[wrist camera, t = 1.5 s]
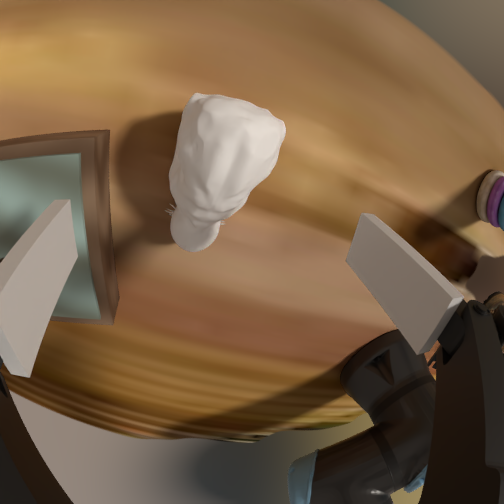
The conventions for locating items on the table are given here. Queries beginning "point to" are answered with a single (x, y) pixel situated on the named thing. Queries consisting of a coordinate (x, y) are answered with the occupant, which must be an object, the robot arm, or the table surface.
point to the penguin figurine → (218, 164)
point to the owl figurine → (494, 303)
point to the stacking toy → (492, 199)
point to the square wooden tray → (82, 207)
